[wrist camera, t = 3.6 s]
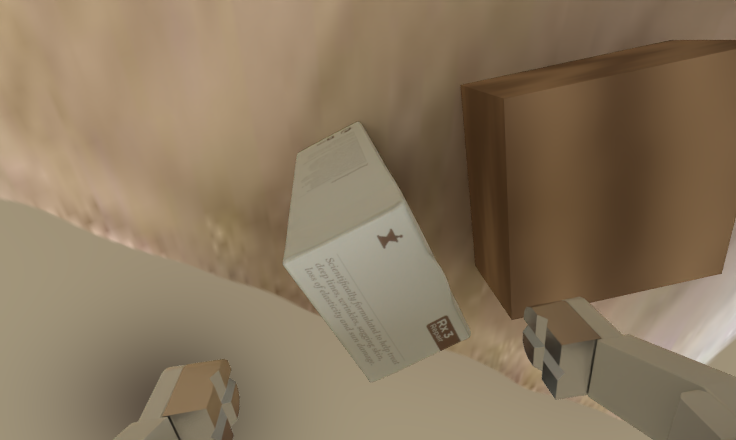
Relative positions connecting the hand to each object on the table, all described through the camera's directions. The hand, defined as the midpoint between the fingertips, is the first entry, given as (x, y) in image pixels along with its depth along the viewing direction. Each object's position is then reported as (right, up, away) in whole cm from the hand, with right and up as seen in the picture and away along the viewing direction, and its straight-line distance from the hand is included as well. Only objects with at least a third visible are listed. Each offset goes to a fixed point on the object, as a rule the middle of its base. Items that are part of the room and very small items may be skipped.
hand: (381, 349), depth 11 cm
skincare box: (-1, +6, +13) cm, 14 cm away
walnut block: (+12, +7, +14) cm, 19 cm away
